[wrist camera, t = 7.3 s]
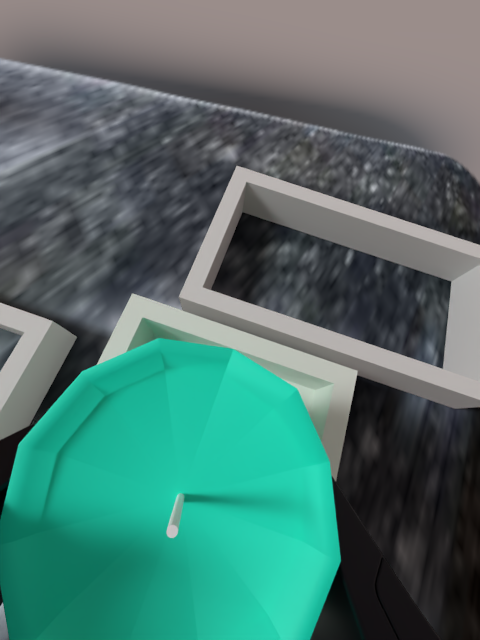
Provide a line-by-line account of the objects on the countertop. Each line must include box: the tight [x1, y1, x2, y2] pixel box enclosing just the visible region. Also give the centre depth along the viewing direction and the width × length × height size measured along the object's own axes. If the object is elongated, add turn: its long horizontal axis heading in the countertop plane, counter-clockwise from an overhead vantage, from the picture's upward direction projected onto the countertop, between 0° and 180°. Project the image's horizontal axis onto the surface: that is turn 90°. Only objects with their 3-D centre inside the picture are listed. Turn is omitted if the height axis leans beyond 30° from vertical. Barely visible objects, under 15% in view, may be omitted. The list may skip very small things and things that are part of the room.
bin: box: [97, 293, 358, 481], centre depth 15 cm, size 12×12×4 cm
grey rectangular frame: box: [179, 166, 480, 409], centre depth 20 cm, size 10×18×3 cm, turn 71°
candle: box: [0, 338, 341, 640], centre depth 9 cm, size 6×6×12 cm
